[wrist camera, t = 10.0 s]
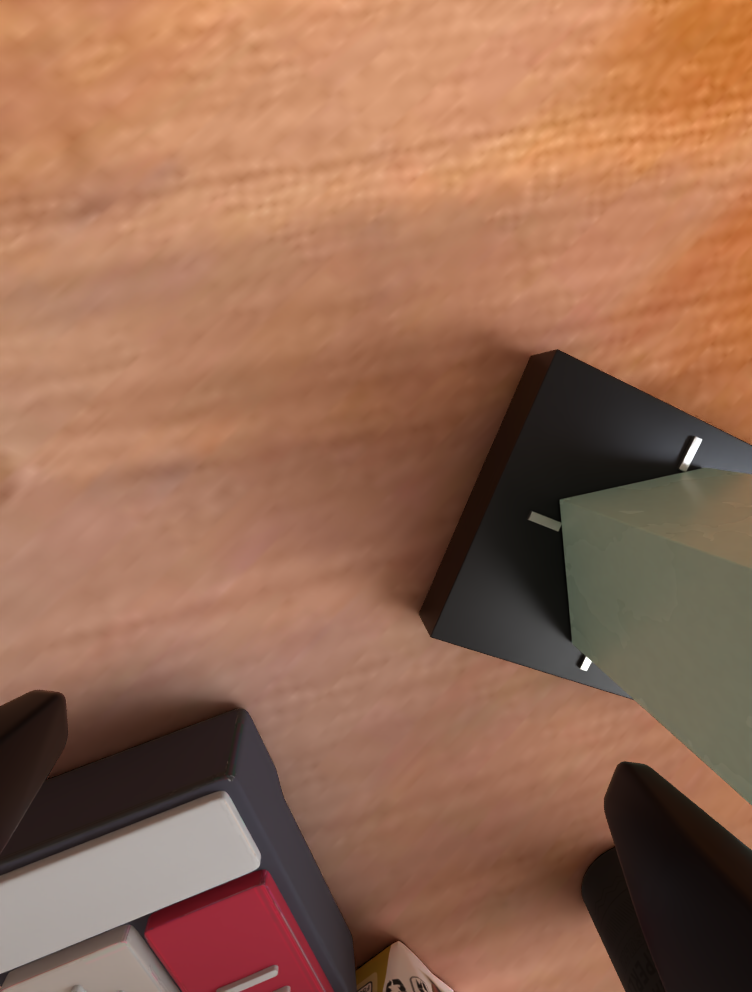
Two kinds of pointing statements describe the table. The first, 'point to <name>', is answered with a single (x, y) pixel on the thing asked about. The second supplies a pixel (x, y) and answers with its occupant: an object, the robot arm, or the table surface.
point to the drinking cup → (619, 924)
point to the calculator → (169, 877)
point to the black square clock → (555, 508)
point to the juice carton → (397, 973)
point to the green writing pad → (671, 605)
